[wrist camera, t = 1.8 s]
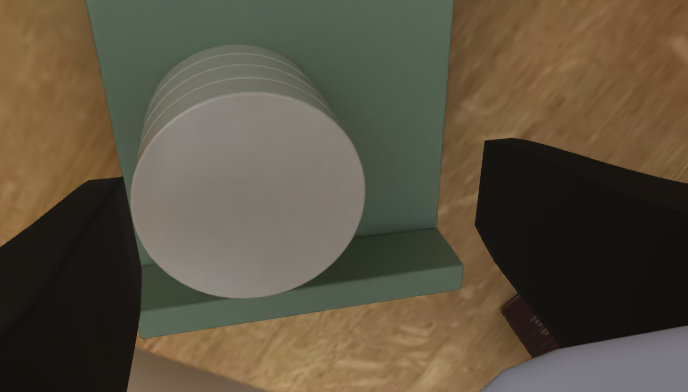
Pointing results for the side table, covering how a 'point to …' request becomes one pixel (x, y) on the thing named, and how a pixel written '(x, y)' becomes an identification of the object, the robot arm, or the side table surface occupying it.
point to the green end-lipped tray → (349, 108)
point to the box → (528, 328)
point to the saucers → (244, 175)
